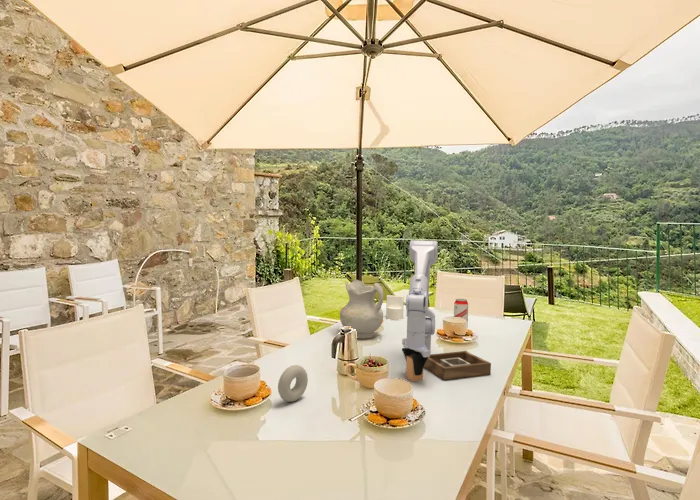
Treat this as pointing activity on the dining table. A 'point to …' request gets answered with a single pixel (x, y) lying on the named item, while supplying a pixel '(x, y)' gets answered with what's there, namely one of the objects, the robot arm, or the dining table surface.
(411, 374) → the plug
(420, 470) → the dining table surface
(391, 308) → the base with upright slab
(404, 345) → the robot arm
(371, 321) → the ceramic pitcher
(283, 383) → the donut
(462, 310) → the beer can
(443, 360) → the box
